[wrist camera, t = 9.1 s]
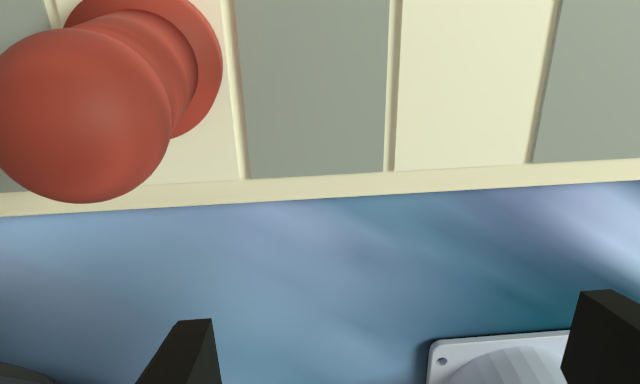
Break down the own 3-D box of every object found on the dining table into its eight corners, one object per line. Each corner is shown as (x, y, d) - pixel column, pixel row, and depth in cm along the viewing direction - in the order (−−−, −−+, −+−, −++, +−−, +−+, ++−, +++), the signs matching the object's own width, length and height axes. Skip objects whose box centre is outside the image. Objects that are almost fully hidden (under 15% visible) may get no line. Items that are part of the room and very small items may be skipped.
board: (667, 166, 19) (690, 179, 18) (-71, 208, 17) (-94, 225, 16) (765, -136, 15) (804, -142, 14) (-215, -120, 13) (-260, -127, 12)
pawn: (230, 127, 16) (197, 251, 9) (92, 133, 15) (-45, 266, 9) (214, -20, 14) (156, 4, 7) (55, -15, 13) (-155, 14, 7)
